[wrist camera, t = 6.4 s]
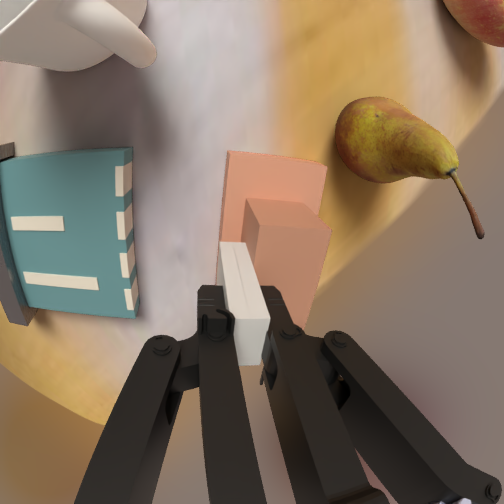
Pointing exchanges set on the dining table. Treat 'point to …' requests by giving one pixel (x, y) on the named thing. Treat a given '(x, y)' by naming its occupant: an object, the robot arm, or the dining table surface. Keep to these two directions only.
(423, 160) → the fruit
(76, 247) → the striped teal tile
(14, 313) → the grey end rail
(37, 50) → the mug
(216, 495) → the robot arm
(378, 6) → the dining table surface
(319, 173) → the stub
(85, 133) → the dining table surface
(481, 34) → the apple
